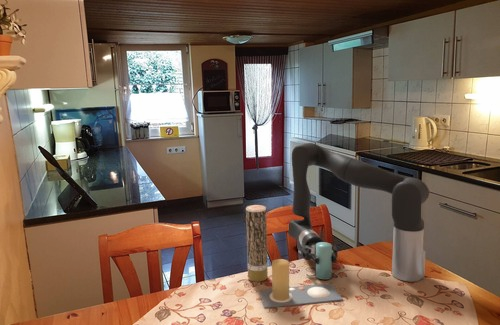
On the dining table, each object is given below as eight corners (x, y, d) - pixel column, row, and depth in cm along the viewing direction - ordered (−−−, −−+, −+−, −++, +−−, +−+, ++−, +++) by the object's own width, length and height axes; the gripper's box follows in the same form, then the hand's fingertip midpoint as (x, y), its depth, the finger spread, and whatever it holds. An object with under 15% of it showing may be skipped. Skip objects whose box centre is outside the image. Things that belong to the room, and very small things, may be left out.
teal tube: (328, 271, 126) (328, 241, 124) (333, 278, 121) (333, 247, 119) (314, 273, 125) (313, 242, 124) (318, 280, 120) (318, 248, 119)
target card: (331, 284, 119) (331, 283, 119) (343, 300, 109) (343, 298, 109) (259, 291, 116) (259, 289, 116) (264, 308, 106) (264, 306, 106)
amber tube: (287, 291, 114) (286, 258, 113) (291, 299, 109) (290, 265, 107) (271, 292, 114) (270, 259, 112) (274, 301, 109) (273, 267, 107)
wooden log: (268, 273, 128) (266, 204, 124) (267, 282, 121) (265, 210, 117) (249, 273, 128) (246, 204, 124) (246, 282, 122) (244, 210, 118)
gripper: (292, 234, 135) (305, 251, 118) (329, 231, 137) (347, 248, 120) (292, 253, 136) (305, 273, 119) (329, 249, 138) (347, 269, 121)
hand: (326, 260), depth 120 cm, fingers closed on teal tube, 5 cm apart
